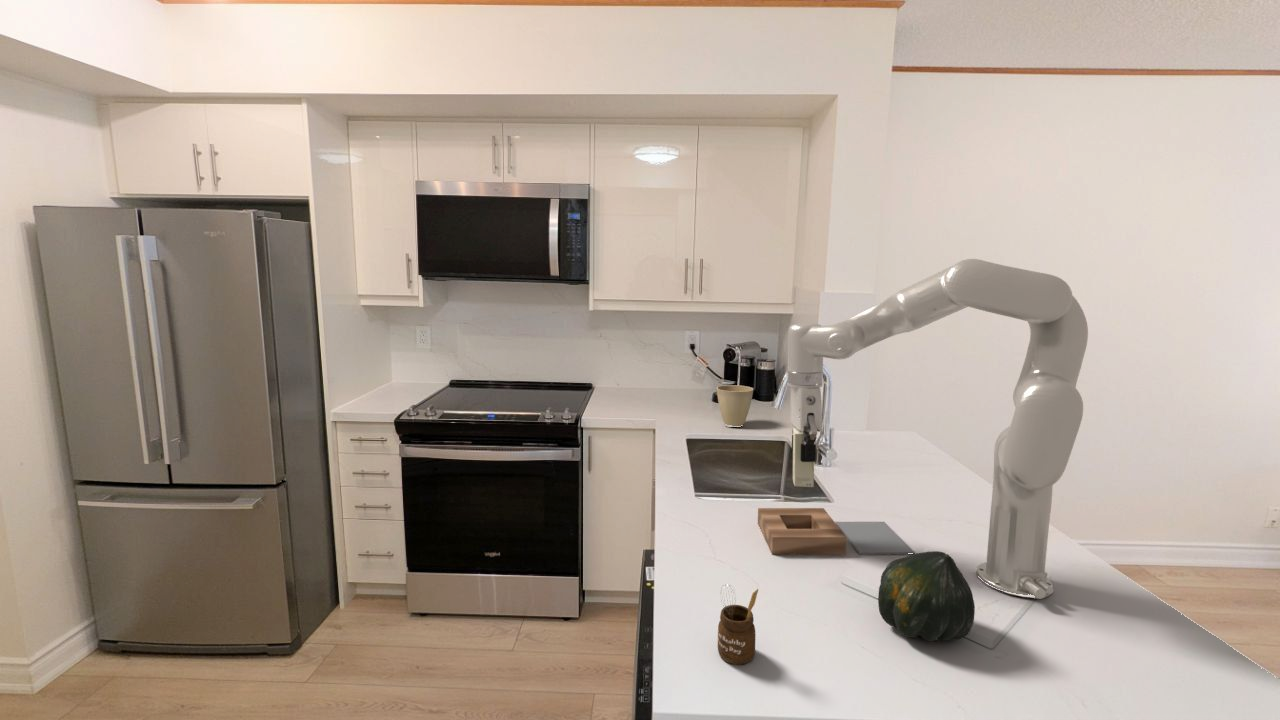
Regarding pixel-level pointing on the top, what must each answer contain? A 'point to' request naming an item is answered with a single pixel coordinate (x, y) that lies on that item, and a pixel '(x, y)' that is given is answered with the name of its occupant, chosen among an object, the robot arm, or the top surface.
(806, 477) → the skincare box
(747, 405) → the plant pot
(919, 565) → the squash
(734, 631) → the utensil holder
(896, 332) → the robot arm
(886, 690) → the top surface
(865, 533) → the slate mat
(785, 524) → the pocket block
